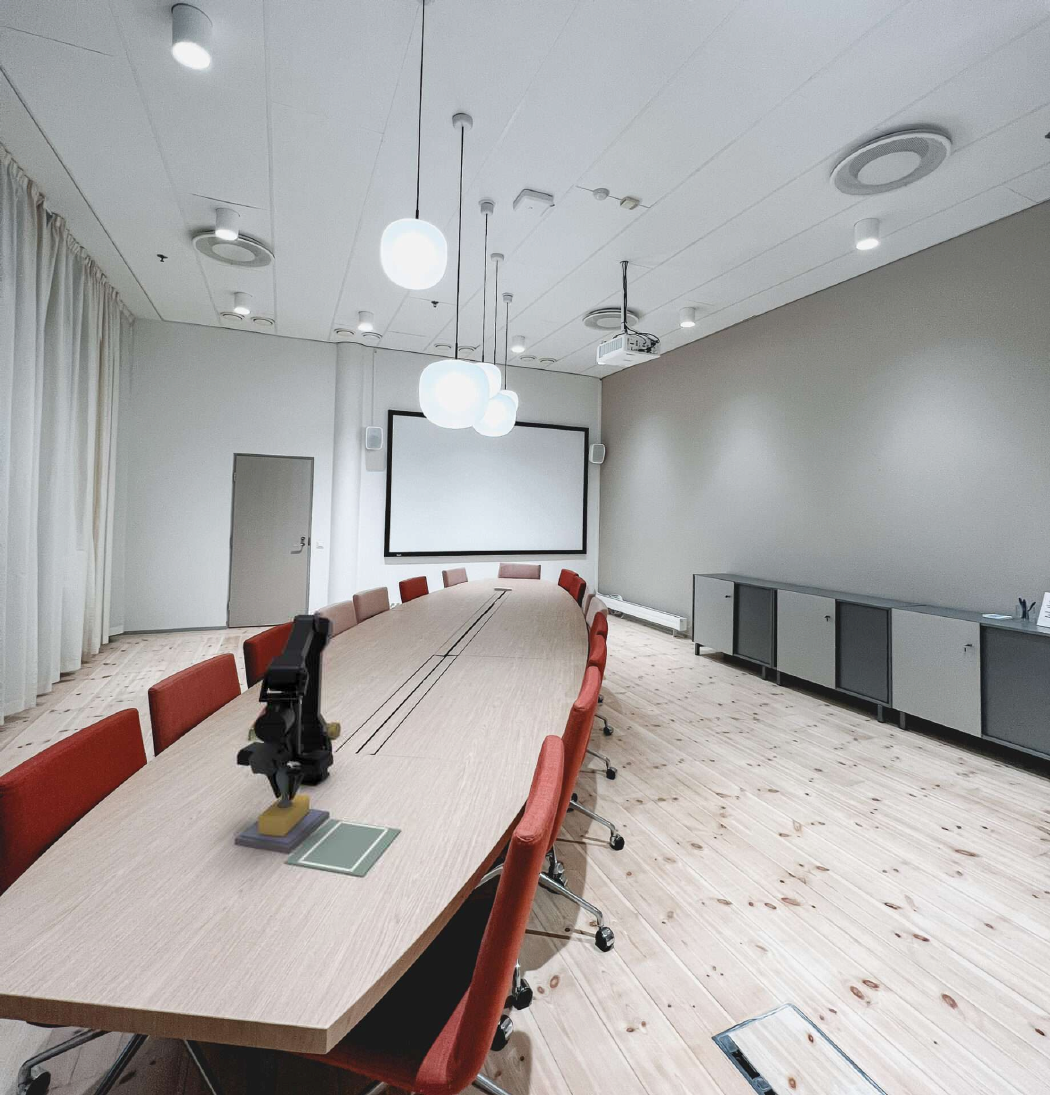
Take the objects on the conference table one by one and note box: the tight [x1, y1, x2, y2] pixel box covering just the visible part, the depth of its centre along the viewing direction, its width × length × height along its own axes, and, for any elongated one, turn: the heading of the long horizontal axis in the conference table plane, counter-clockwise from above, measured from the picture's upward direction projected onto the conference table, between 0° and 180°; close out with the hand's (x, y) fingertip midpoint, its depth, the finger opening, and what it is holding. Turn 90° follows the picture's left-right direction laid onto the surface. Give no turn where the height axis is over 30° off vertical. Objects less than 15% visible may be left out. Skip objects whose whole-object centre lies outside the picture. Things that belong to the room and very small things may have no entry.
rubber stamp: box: [257, 764, 310, 836], centre depth 118 cm, size 10×6×12 cm, turn 172°
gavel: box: [326, 721, 342, 740], centre depth 161 cm, size 21×5×10 cm
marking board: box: [283, 818, 402, 878], centre depth 113 cm, size 16×16×1 cm
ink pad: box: [234, 808, 330, 854], centre depth 119 cm, size 12×14×2 cm
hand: (285, 798), depth 118 cm, fingers closed on rubber stamp, 3 cm apart
